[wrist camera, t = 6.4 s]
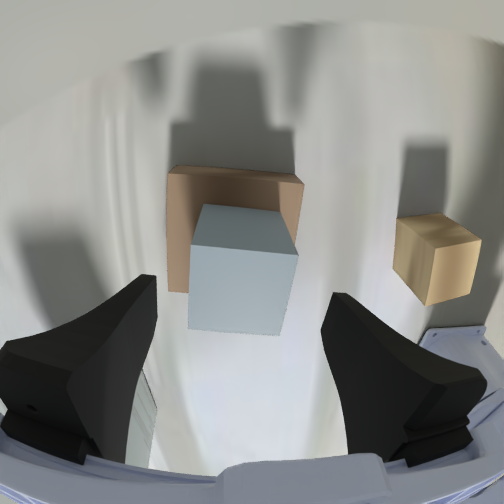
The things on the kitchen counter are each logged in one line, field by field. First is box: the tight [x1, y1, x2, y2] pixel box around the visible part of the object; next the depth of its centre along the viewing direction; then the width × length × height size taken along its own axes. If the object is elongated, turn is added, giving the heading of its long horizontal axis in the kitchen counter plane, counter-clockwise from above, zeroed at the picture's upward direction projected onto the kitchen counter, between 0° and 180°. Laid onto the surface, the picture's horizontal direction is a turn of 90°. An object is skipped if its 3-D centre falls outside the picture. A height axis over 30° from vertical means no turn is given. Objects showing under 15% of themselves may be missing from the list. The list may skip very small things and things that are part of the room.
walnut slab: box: [167, 165, 304, 293], centre depth 18 cm, size 7×7×3 cm
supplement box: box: [125, 371, 157, 469], centre depth 19 cm, size 7×7×13 cm
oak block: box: [393, 213, 482, 306], centre depth 18 cm, size 4×4×5 cm
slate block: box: [188, 204, 299, 336], centre depth 14 cm, size 4×4×5 cm
